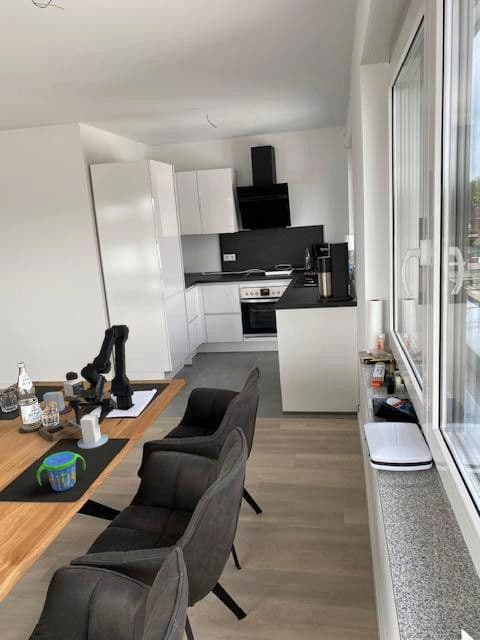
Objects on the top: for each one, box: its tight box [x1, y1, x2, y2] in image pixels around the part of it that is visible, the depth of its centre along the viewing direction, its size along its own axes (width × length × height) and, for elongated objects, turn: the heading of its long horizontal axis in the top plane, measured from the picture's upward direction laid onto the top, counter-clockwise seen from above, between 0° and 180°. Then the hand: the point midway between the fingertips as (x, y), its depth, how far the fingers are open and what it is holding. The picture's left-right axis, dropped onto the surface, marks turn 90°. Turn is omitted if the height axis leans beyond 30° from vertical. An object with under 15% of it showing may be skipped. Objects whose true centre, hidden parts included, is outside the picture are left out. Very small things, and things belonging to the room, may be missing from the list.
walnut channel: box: [38, 419, 80, 443], centre depth 208 cm, size 12×11×2 cm
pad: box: [76, 433, 109, 450], centre depth 197 cm, size 12×12×1 cm
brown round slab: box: [77, 390, 112, 409], centre depth 240 cm, size 16×16×3 cm
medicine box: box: [42, 391, 66, 412], centre depth 233 cm, size 8×4×9 cm, turn 84°
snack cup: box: [36, 451, 87, 492], centre depth 164 cm, size 16×10×10 cm
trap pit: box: [67, 413, 99, 431], centre depth 216 cm, size 10×10×2 cm
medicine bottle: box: [62, 371, 85, 398], centre depth 253 cm, size 7×7×12 cm
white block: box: [80, 414, 102, 443], centre depth 196 cm, size 5×5×10 cm
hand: (88, 424), depth 194 cm, fingers open, 9 cm apart
